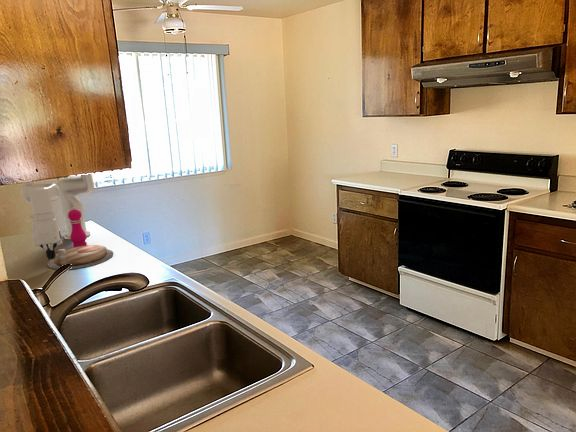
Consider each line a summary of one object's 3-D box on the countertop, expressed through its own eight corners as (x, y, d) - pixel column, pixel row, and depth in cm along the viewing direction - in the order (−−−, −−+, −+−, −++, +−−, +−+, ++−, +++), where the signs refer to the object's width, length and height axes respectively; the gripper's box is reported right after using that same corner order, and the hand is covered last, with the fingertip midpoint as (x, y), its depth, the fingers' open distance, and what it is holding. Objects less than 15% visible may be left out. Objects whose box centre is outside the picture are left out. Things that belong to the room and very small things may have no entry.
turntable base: (33, 266, 199) (33, 265, 199) (81, 247, 223) (81, 246, 223) (81, 272, 189) (80, 270, 189) (126, 251, 213) (125, 249, 213)
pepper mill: (90, 244, 229) (84, 204, 224) (83, 248, 222) (76, 208, 217) (77, 244, 229) (70, 205, 225) (69, 249, 223) (61, 208, 218)
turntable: (42, 263, 200) (39, 249, 199) (81, 247, 220) (79, 235, 218) (80, 267, 192) (78, 253, 191) (117, 251, 212) (115, 237, 210)
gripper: (20, 220, 187) (29, 263, 191) (59, 217, 188) (67, 259, 193) (28, 216, 194) (36, 257, 199) (65, 213, 196) (72, 254, 200)
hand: (51, 258), depth 196 cm, fingers closed
